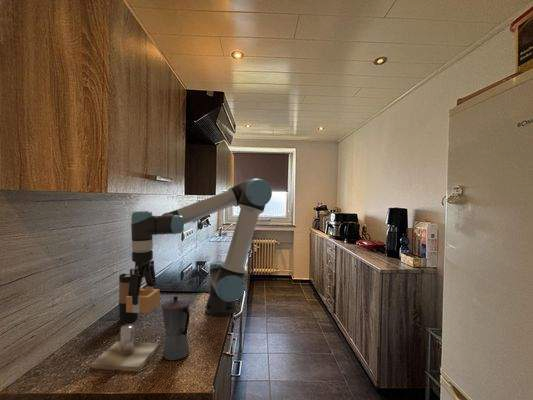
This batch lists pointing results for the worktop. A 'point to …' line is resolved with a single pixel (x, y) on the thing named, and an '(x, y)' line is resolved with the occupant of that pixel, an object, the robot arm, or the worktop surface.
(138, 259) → the robot arm
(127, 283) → the travel mug
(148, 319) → the worktop surface
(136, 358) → the post stand
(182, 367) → the worktop surface
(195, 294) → the worktop surface
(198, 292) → the worktop surface
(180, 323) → the moka pot
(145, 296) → the open wooden box
